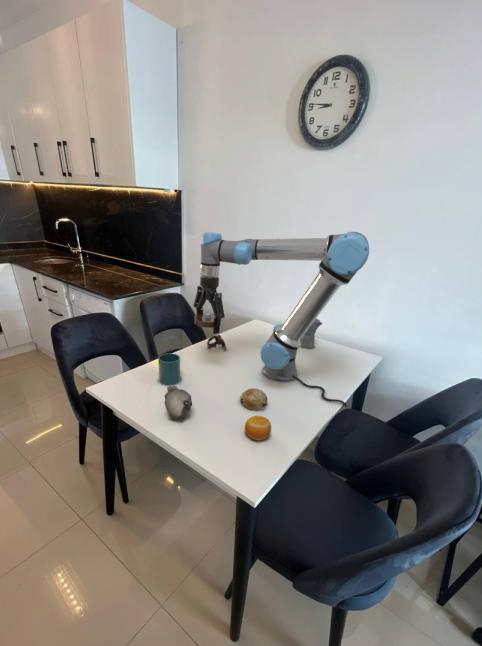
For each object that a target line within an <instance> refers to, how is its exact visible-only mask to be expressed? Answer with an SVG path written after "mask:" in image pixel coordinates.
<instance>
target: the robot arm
mask: <svg viewBox="0 0 482 646" xmlns="http://www.w3.org/2000/svg"><path fill="white" fill-rule="evenodd" d="M369 244H370V243H369V240H368V238H366V236H365V235H364V234H363V233H360V232H358V231H348V232H345V233H339V234H329V235H327V236H326V237H321V238H320V237H319V238H318V237H317V238H315V237H314V238H313V237H311V238H310V237H309V238H308V237H307V238H306V237H305V238H260V239H259V238H258V239H256V238H255V239H253V238H245V239H241V240H226V239H222V234H221V233H218V232H213V231H212V232H208V231H207V232H203V233H202V234H201V240H200V274H199V275H200V277H199V285H198V286H197V287H196V293H195V298H194V300H193V301H194V302H193V307H194V308H195V309H196V315H198V314H204V306H205V304H206V302H207V301H208V303H209V304H210V306H211V309H212V313H213V314H214V315H215V318H214V325H213V328H212V334H213V335H218V334H220V327H221V325H220V323H221V318H222V319H224V318H225V317H226V316H225V310H224V305H223V293H222V292H218V291H217V288H218V287H219V286H220V271H221V263H228V264H229V263H230V264H236V265H238V266H239V265H245V266H246V265H250V263H251V261H312V262H313V261H314V262H315V261H319V264H318V271H319V272H318V273H317V274H316V276H315V277H314V279H313V280H312V282H311V283H310V285H309V287H307V289H306V291H305V292H304V293H303V295H302V296H301V298H300V299H299V301H298V302H297V304H296V305H295V306H294V308H293V310H292V311H291V313H290V314H289V316H288V317H287V319H285V321H284V323H277V324H275V325H274V326H273V329H272V333H271V334H270V337H269V338H268V340H267V341H266V342H265V344H263V345H262V347H261V349H260V352H259V353H260V354H259V356H260V360H261V362H262V363H263V364H264V366H263V370H262V372H263V375H264V376H265V377H267V378H269V379H271V380H273V381H278V382H290V381H292V380H293V381H294V379H295V380H296V381H298V382H299V383H301V385H303V386H304V387H307V388H311V389H312V388H313V389H319V390H321V391H322V392H321V398H322V399H323V400H325V401H326V402H336V403H340V404H342V405H343V407H345V408H347V407H348V405H347V403H346V402H345V401H343V400H341V399H337V398H336V399H333V398H327V397H326V396H325V393H326V390H325V388H324V387H322V386H320V385H311V384H307V383H305V382H304V381H303V380H301V379H300V378H299V377H297V374H298V371H297V363H296V357H297V353H298V350H299V349H300V347H301V346H300V345H301V342H300V339H301V338H302V336H303V335H304V334H305V332H306V331H307V330H308V328H309V327H310V326H311V324H312V323H313V322H314V320H315V319H318V317H319V315H320V314H321V312H322V311H323V310H324V308H326V306H327V305H328V304H329V302H330V301H331V299H332V298H333V296H335V294H336V293H337V291H338V290H339V288H341V286H345V285H349V283H350V282H351V280H352V279H353V278H354V276H356V274H357V273H358V271H360V270H361V269H362V268H363V267H364V265H365V264H366V263H367V261H368V259H369V255H370V245H369ZM217 315H218V316H217ZM221 324H222V323H221Z"/></svg>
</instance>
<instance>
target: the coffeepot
mask: <svg viewBox="0 0 482 646" xmlns="http://www.w3.org/2000/svg"><path fill="white" fill-rule="evenodd" d="M322 325H323V322H321V320H320V319H318V318H316V319H315V320H314V322H313V323H312V324H311V326H310V327H309V328H308V330H307V331H306V332H305V334H304V335H303V336H302V338H301V339H300V342H301V345H300V347H301V348H304V349H313V348H314V347H315V340H316V339H315V338H316V336H315V334H316V332H317V330H318V329H319V327H320V326H322Z"/></svg>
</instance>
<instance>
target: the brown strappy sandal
mask: <svg viewBox="0 0 482 646" xmlns="http://www.w3.org/2000/svg"><path fill="white" fill-rule="evenodd" d="M213 340H214V342H212V341H213ZM211 342H212V343H211ZM206 344H207V345H206V347H207V348H208V349H214V348H215V349H218V347H217V345H218V346H221V347H222V348H223V349H224V351H225V352H226V351H227V346H226V345H227V344H226V342H225V340H224V338H222V335H220V334H214V335H212V336H211V337H209V338H208V339H207V342H206Z"/></svg>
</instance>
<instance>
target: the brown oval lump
mask: <svg viewBox="0 0 482 646" xmlns="http://www.w3.org/2000/svg"><path fill="white" fill-rule="evenodd" d="M239 400H240V401H241V402H240V403H241V404H242V406H243V407H245V408H246V410H247V409H248V410H252V411H260V410H261V411H262V410H264V409H265V407H266V406H267V404H268V396H267V394H266V392H264V391H263V390H262V389H259V388H248V389H246V390H244V391H243V392H242V393H241V395H240V396H239Z"/></svg>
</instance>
